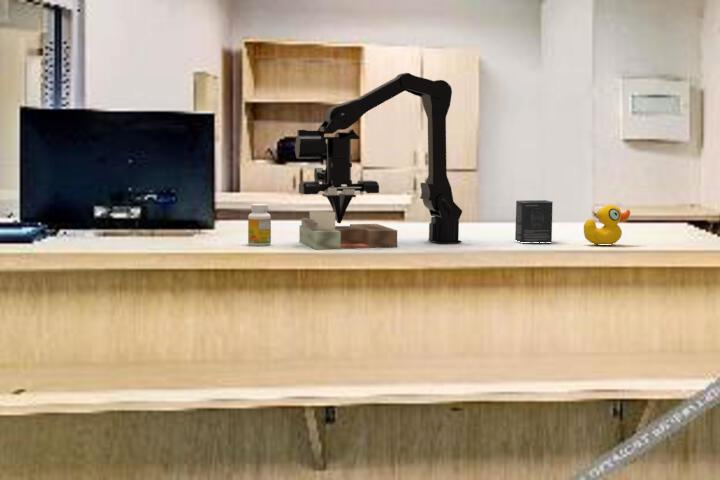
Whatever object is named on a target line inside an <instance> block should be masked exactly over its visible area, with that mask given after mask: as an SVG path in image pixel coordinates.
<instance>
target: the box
mask: <svg viewBox="0 0 720 480" xmlns="http://www.w3.org/2000/svg"><path fill="white" fill-rule="evenodd" d="M515 205H516V206H515V237H514V238H515V240H517V241H520V242H539V243H538V244H541V243H540V242H552V243H553V241H552V237H553V234H552V233H553V201H550V200H545V199H544V200H542V199H541V200H539V199H538V200H537V199H536V200H532V199H531V200H527V199H526V200H516V203H515Z"/></svg>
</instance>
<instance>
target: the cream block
mask: <svg viewBox="0 0 720 480" xmlns="http://www.w3.org/2000/svg"><path fill="white" fill-rule="evenodd" d="M309 219H310V220H312V221H315V222H317V223H318V230H321V229H335V226H336V218H335V212H333V210H309Z"/></svg>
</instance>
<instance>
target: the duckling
mask: <svg viewBox="0 0 720 480" xmlns="http://www.w3.org/2000/svg"><path fill="white" fill-rule="evenodd" d="M630 215H631V211H630V209H626V211H624V212H622V211H621V209H620V208H619V207H618V206H616V205H613V204H611V205H610V204H608V205H605V206H604V207H602V208H600V209H599V210H597V211H596V216H597V218H598V220H599V222H600V223H601V224H602V225H603V226H602V227H600V228H598V227H597V225H596V222H595V220H594V219H592V218H588V219H587V220H586V221H585V222H584V224H583V234H584V238H585V239H586V240H587V241H588V242H589V243H591V244H593V243H594V244H593V245H596V244H613V243H615V244H616V243H617V242H618V241H619V240H620V239H621V237H622V234H623V233H622V229H621V226H620V225H618V224H619V223H620V222H625V221H627V220H628V219H629V218H630ZM613 245H614V244H613Z"/></svg>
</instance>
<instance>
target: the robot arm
mask: <svg viewBox="0 0 720 480" xmlns="http://www.w3.org/2000/svg"><path fill="white" fill-rule="evenodd" d="M403 92H407V93H409V94H412V95H414V96H417V97H420V98H421V101H422V107H423V110H424V112H425V115H426V118H427V159H428V161H427V163H428V173H427V174H428V175H427V178H426V181H425V182H420V190H421V193H420V194H421V195H420V198H419V199H421V200H422V202H423V206H424V207H425V208H427V209H428V211H429V215H430V216H431V218H430V222H429V224H428V240H427V241H429V242H433V243H434V244H451V243H452V244H455V243H456V244H459V243H462V240H459V235H460V234H459V232H460V231H459V230H460V229H459V228H460V226H459V225H460V218H461V216H462V213H463V209H461V208H460V207H459V206H458V204H456V202H455V201H454V196H453V191H452V186H451V183H450V181H449V178H448V173H447V170H448V169H447V168H448V167H447V115H448V112H449V110H450V106H451V103H452V95H453V90H452V87H451V85H450V84H449V83H448V81H446V80H444V79H437V80H432V79H428V78H424V77H420V76H417V75H413V74H411V73H410V72H404V73H399V74H397V76H396V77H394V78H392V79H390V80H389V81H386V82H385V83H382V84H381V85H379V86H377V87H376V88H374V89H371V91H368V92H366V93H365V94H363V95H361V96H359V97H357V98H355V99H351V100H349V101H345V102H341V103H339V104H335V105H332V106H331V107H328V108H327V110H326V112H325V115H324V120H323V122H322V124H320V126H319V128H318V129H317V130H306V129H297V134H296V138H295V143H294V152H295V157H296V159H321V158H322V156H323V155H326V157H327V158H326V162H325V169H324V168H323V167H316V168H314V169H313V171H314V175H313V178H314V181H313V180H310V181H309V180H308V181H306V180H305V181H304V180H303V181H302V180H301V181H300V182H299V184H298V193H299V194H301V195H318V194H319V193H320V192H323V193H322V194H321V195H322V197H325V198H327V199H328V202H329V203H330V206H331V209H332V212H335V222H336V223H337V224H341V223H342V222H343V221H342V220H343V219H344V216H345V213H346V211H347V209H348V207H349V204H350V203H351V201H352V200H353V198H356V197H357V195H356V194H355V192H361V193H362V192H365V193H366V194H379V193H380V185H379V184H380V183H378V181H376V180H357V183H353V180H352V167H353V163H352V140H360V138H361V136H360V135H358V134H357V133H356V132H355V130H354V129H352V128H351V129H349V130H348V131H346V132H345V131H342V130H347V129H348V128H350V127H352V126H353V125H354V124H355V123H356V122H358V121H359V120H360V118H362V117H363V116H364V115H365V114H367V112H368V111H371V110H372V109H374V108H376V107H379V105H382V104H384V103H385V102H387V101H388V100H391V99H392V98H394V97H396V96H397V95H400V94H402V93H403ZM339 130H340V132H337V131H339ZM341 131H342V132H341ZM334 133H335V134H334ZM333 134H334V136H325V135H333ZM338 192H340V193H338Z"/></svg>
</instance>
